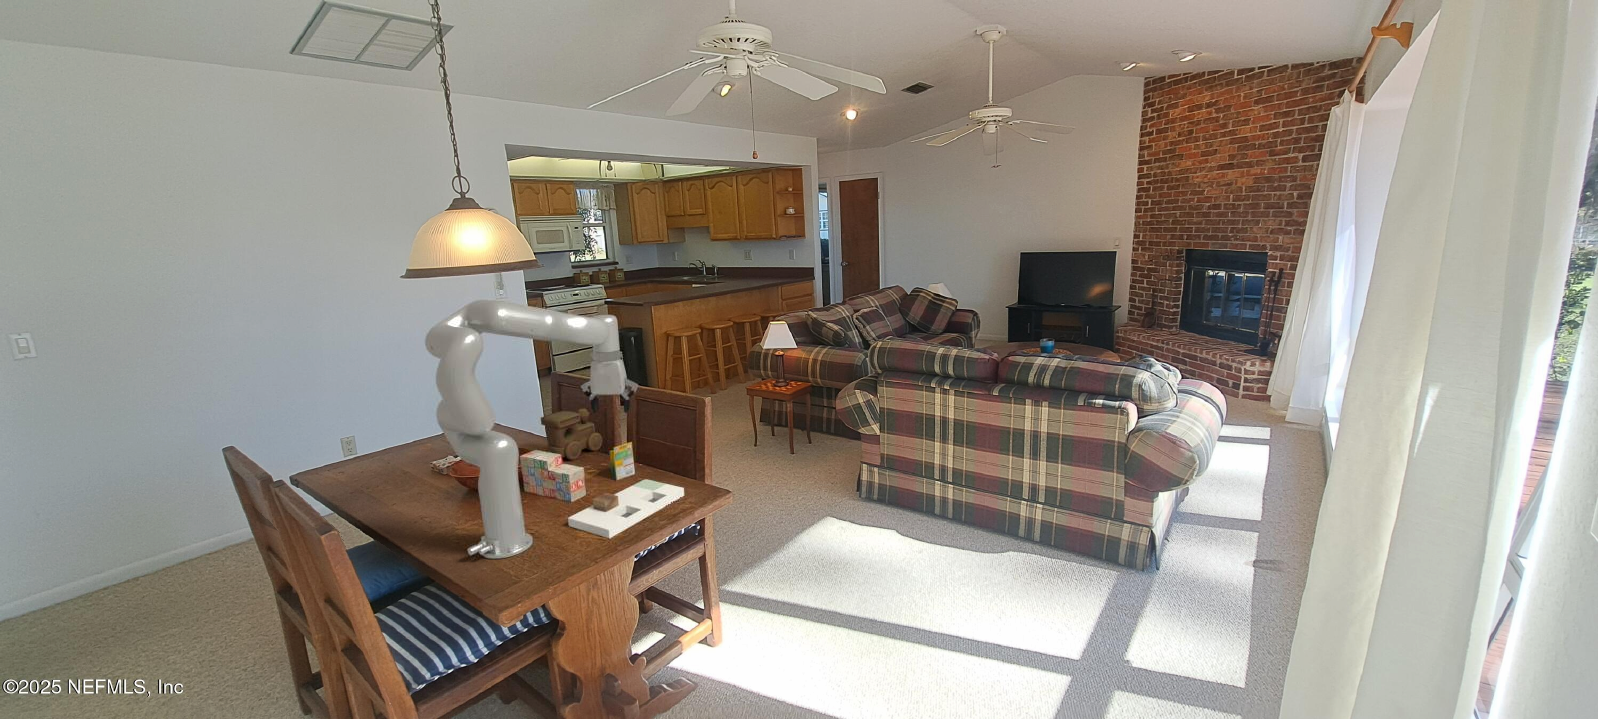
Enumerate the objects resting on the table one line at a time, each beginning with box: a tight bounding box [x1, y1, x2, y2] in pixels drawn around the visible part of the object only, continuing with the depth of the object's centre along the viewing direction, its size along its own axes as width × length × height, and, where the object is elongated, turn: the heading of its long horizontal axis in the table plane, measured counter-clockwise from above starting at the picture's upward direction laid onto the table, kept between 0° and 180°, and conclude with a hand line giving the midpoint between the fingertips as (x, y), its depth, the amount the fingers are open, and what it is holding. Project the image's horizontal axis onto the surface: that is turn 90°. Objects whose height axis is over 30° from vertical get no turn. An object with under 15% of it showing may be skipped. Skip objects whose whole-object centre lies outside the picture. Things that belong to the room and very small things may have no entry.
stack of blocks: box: [519, 449, 587, 503], centre depth 199 cm, size 21×6×12 cm, turn 63°
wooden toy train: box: [540, 408, 603, 461], centre depth 233 cm, size 20×11×17 cm, turn 151°
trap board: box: [567, 478, 685, 539], centre depth 186 cm, size 31×16×2 cm, turn 150°
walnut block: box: [592, 492, 619, 512], centre depth 182 cm, size 5×5×3 cm
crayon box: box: [609, 441, 636, 481], centre depth 211 cm, size 7×3×12 cm, turn 139°
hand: (611, 411), depth 190 cm, fingers open, 9 cm apart
